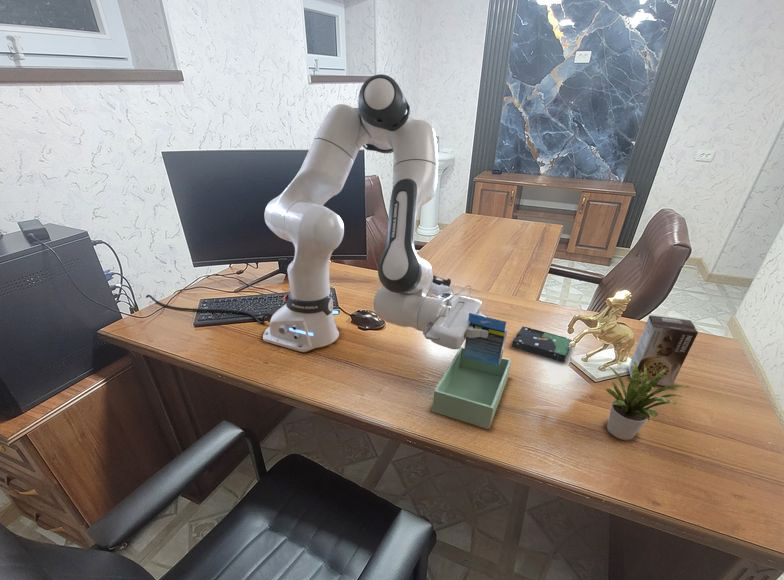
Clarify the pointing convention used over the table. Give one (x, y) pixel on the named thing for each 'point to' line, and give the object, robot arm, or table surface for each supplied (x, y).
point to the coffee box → (663, 348)
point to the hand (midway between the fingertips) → (491, 328)
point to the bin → (471, 389)
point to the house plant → (635, 403)
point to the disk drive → (542, 344)
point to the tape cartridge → (486, 340)
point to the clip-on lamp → (442, 286)
